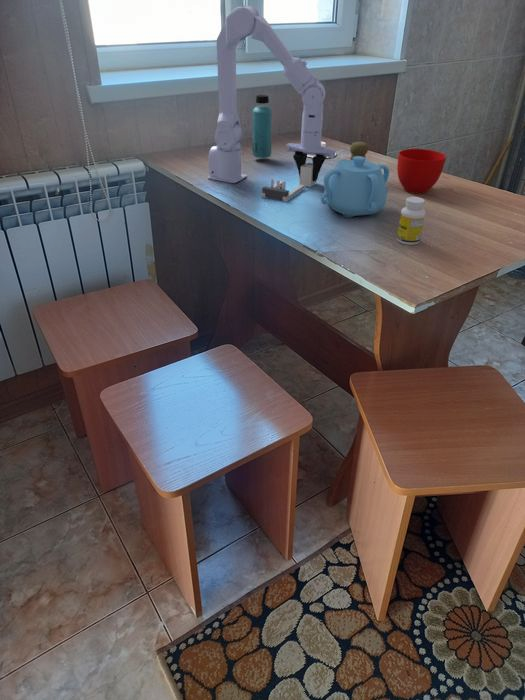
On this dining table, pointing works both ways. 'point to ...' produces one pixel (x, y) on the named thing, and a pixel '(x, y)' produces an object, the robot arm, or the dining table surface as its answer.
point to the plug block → (307, 175)
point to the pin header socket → (279, 191)
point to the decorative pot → (356, 187)
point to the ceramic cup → (419, 169)
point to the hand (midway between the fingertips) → (308, 179)
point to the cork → (358, 149)
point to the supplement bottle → (411, 221)
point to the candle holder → (322, 146)
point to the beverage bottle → (262, 128)
